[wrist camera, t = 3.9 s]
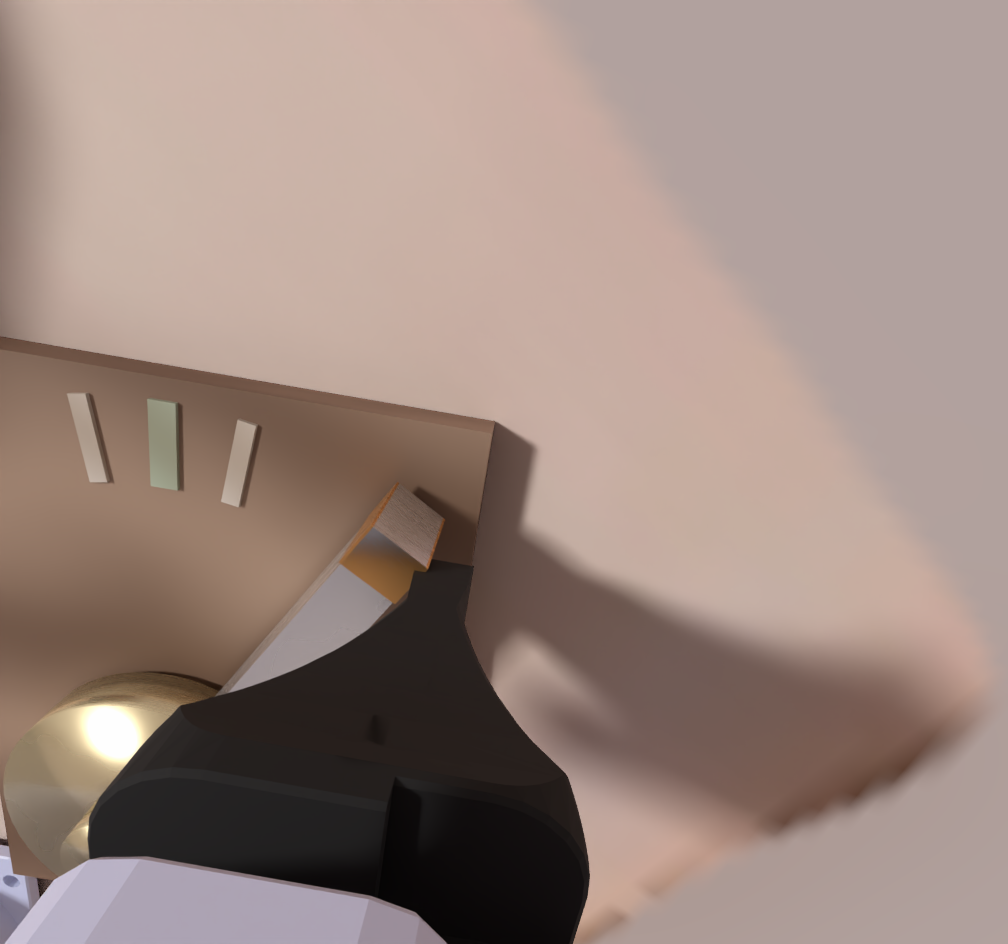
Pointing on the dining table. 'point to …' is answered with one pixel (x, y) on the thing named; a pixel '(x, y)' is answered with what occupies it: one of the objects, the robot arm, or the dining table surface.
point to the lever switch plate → (186, 516)
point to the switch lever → (155, 697)
